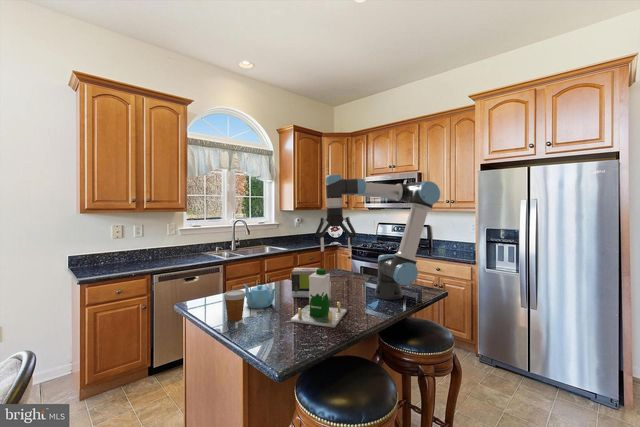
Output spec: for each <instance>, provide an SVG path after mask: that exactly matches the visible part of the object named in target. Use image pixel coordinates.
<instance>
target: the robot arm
mask: <svg viewBox="0 0 640 427" xmlns="http://www.w3.org/2000/svg"><path fill="white" fill-rule="evenodd" d="M325 192H326V193H325V195H326V200H325V201H326V217H320V220H319V221H320V222H319V225H318V227H317V230H316V232H315V233H314V237H315V238H318V244H319V245H320V252H324V251H325V241H324V240H325V239H324V235H325V234H326V232H327V231H328V230H329V229H330V227H331V228H333V227H336V228H338V227H339V228H341V229H342V230H343V231H344V232H345V234H346V235H347V236H348V239H347V243H348V245H347V246H348V253H351V252H352V246H353V244H354V238H355V237H357V235H358V234H357V232H356V231H355V229H354V225H352V223H351V220H350V217H349V216H347V217H344V216H343V215H344V214H343V196H355V197H356V196H357V197H366V198H367V197H368V198H380V199H381V198H382V199H392V200H395V201H396V202H403V203H408V204H409V206H410V210H409V213H408V217H407V220H406V224H405V227H404V231H403V234H402V237H401V241H400V244H399V249H398V251H397V252H396V253H394V254H380V255H378V258H377V283H376V286H375V289H374V296H375V297H376V298H379V299H381V300H389V301H391V300H392V301H394V300H400V299H402V298H403V290H402V287H401V285H403V286H409V285H411V284H413V283H414V282H415V281H416V280H417V278H418V276H419V270H418V267H417V263H418V262H417V261H418V260H417V258H416V255H417V251H418V247H419V244H420V241H421V236H422V233H423V230H424V227H425V226H424V225H425V223H426V219H427V216H428V213H429V212H430V211H432V209H433V205H434V204H436V203H438V202H439V200H440V198H441V190H440V187H439V186H438V184H436V183H435V182H433V181H430V180H429V181H428V180H423V181H416V182H409V183H397V184H387V183H376V182H366V180H365V179H363V178H343V177H342V174H329V175H326V176H325ZM326 222H327V224H326V225H325V227H324V228H323V226H324V224H325V223H326ZM343 222H346V224H347V227H348V228H349V229H348V228H347V227H346V225H345V224H344V223H343ZM322 228H323V230H322Z"/></svg>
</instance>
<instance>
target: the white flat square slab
mask: <svg viewBox="0 0 640 427" xmlns="http://www.w3.org/2000/svg"><path fill="white" fill-rule="evenodd" d="M309 304H310V302H309V301H308V304H307V305H305V306H304V307H303V308H302V307H298V308H297V313H296V314H295V315H293V317H291V319H290V323H297V324H305V325H306V324H307V325H311V326H320V327H327V328H328V327H329V328H336V326H337V325H338V324H339V322H340V321H341V320H342V319H343V317H344V316H345V314H346V313H347V309H346V308H341V301H336V307H330V306H329V312H328V314H327V315H326V316H325V317H318V316H311V315H310V306H309Z"/></svg>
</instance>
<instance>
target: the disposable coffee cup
mask: <svg viewBox="0 0 640 427" xmlns="http://www.w3.org/2000/svg"><path fill="white" fill-rule="evenodd" d="M223 298H224V302H225V309H226V310H225V311H226V316H227V321H228V320H230V321H229V322H231V321H235V322H239V321H238V320H240V321H242V320H243V315H244V314H243V313H244V307H245V298H246V294H245V290H241V289H233V290H232V289H231V290H227V291H225V292H224V295H223ZM241 319H242V320H241Z"/></svg>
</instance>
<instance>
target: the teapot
mask: <svg viewBox="0 0 640 427" xmlns="http://www.w3.org/2000/svg"><path fill="white" fill-rule="evenodd" d="M243 286H244V288H245V290H244V292H245V294H246V296H245V298H246V302H245V303H246V305H247V306H248V307H249V308H250V309H256V310H257V309H259V310H260V309H265V308H269V307H270V306H271V305H272V304H273V302H274V301H275V300H274V299H275V292H276V291H277V289H278V288H277V287H275V288H272V290H271V292H270V289H269V286H265V285H264V286H263V285H262V284H258V285H257V286H256V287H255V286H254V287H253V288H251V290H249V286H248V285H247V284H246V283H243Z"/></svg>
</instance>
